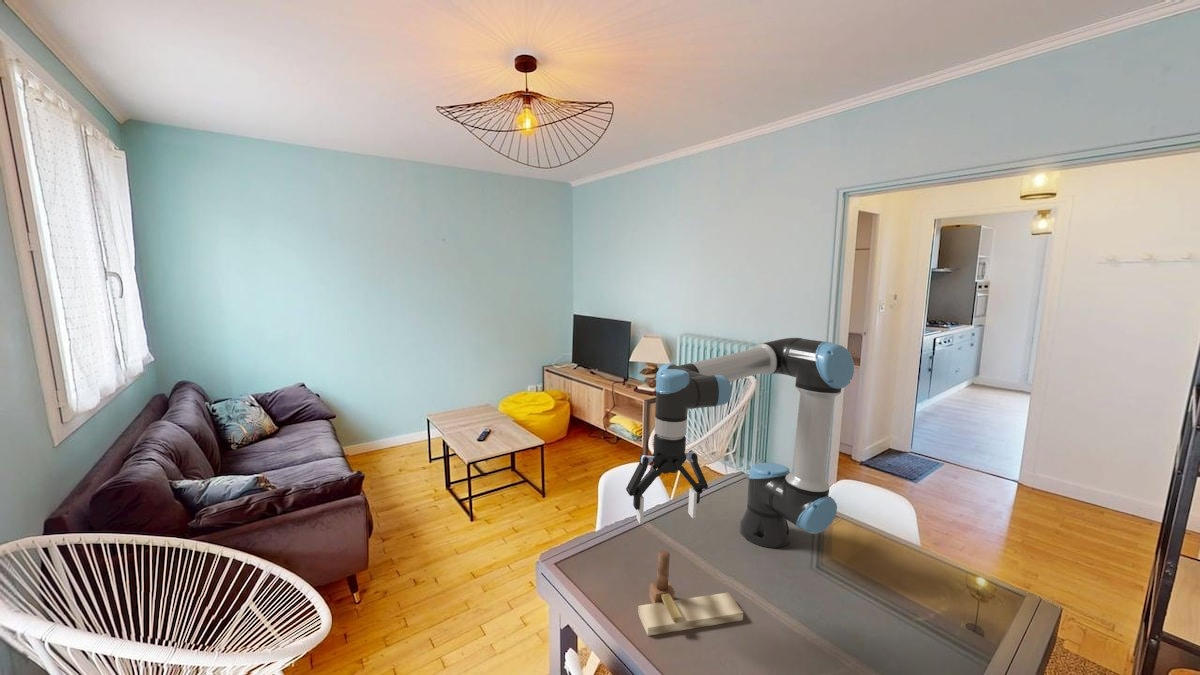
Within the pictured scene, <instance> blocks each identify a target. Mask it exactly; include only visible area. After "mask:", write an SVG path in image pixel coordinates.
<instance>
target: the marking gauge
mask: <svg viewBox="0 0 1200 675" xmlns="http://www.w3.org/2000/svg"><path fill="white" fill-rule="evenodd" d="M657 552H658V553H657V570H656V571H657V573H656V581H655V582H650V583H649V595H648V596H649V597H648V598H649V600H650V602H651V604H653V603H660V602H664V604H665V606H666V608H667V610H668V612H669V614H670V616H671V618H672V620H673V622H679V621H682V616H681V614H680V612H679V610H678V608H677V607H676V605H675V603H674V601H673V600H675V595H676V594H675V593H676V591H675V590H674V588H673V585H672V584H671V583H670V581H669V575H670V573H669V572H670V552H669V551H668V550H664V549H663V550H659V551H657Z"/></svg>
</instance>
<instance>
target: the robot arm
mask: <svg viewBox="0 0 1200 675" xmlns="http://www.w3.org/2000/svg"><path fill="white" fill-rule="evenodd" d="M657 370H658V371H656V377H655V378H656V382H655V383H656V384H655V385H656V386H655V409H654V410H655V413H654V435H653V453H652V455H646V454H645V453H642V454H640V456H639V463H638V464H637V467H636V468H635V471H634V473H633V474H632V476H631V477H630V480H629V482H628V485H627V486H626V488H625V490H626V492H627V494H628V495H629V497H633V499H632V500H633V503H632V505H633V507H634V510H636V518H635V519H636V520H637V521H638V523H639V525H643V524H644V509H645V508H644V506H645V505H644V504H645V498H644V496H643V494H644V493H645V492H646V491H647V489H648V488H649V487H651V485H652V484H653V482H654V481H655V480H656V479H657V478H658V477H659V476H661V475H662V474H670V473H671V474H675V473H677V472H678V471H679V472H680V473H681V475H682V476H683V478H685V480H686V481H687V482H688V483H689V484H690V486H691V487H689V490H688V507H687V508H688V509H687V513H688V514H689V516H690V517H691V518H692V519H696V518H697V514H696V513H697V504H700V500H701V499H700V498H701V494H703V490H707V489H708V488H709V485H708V482H707V480H706V478H705V476H704V473H703V471H702V468H701V467H700V465H699V461H698V460H699V459H698V454H697V453H696V452H694V451H693V450H689V451H688V452H686V443H687V437H686V436H687V425H688V422H687V421H688V412H689V410H693V409H702V408H711V407H712V408H713V407H714V408H716V407H718V406H723V405H726V404H727V403H728V402H730V400H731V398H732V390H733V389H732V385H731V383H730V382H731V381H736V380H740V379H743V378H748V377H751V376H755V375H759V374H761V375H763V376H769V375H774V374H775V375H776V374H778V375H779V374H780V375H785V376H788V377H789V376H790V377H793V378H795V383H794V384H795V385H794V386H795V388H796V389H797V391H798V392H799V393H800V394H799V402H798V403H799V404H798V413H797V418H796V419H797V420H796V430H795V438H794V439H795V440H794V448H793V456H792V466H791V472H790V468H789V467H787V466H786V465H784V464H780V463H775V462H759V463H755V464H753V465H752V466H751V467H750V471H749V476H748V487H747V488H748V489H747V490H748V491H747V505H746V510H745V512H744V513H743V515H742V516H743V517H742V518H741V520H740V522H739V523H740V524H739V532H740V534H741V536H742V537H743V538H745V539H746V540H747V541H749V542H751V543H753V544H755V545H757V546H760V547H765V548H769V549H770V548H771V549H774V548H775V549H776V548H783V547H786V546H787V545H788V544H789V543H790V539H791V532H790V528H789V523H788V522H790V523H792V524H793V525H795V526H796V527H797V528H798V529H800V530H804V531H805V532H806V533H809V534H815V535H816V534H820V533H821V532H824V531H825V530H826V529H828V528H829V526H831V524H832V522H833V521H834V520H835V517H836V515H837V511H838V505H837V502H836V500H835V499H834V498H833V497H832V496H829V494H830V484H829V482H827V481H826V479H825V475H826V468H827V462H828V461H827V457H828V452H829V444H830V442H829V441H830V435H831V434H830V433H831V426H832V418H833V417H832V416H833V409H834V401H835V400H834V399H835V397H837V396H838V395H840V394H841V393H842V389H843V388H845V387H847V386H848V385H849V384H850V383H851V380H852V379H853V378H854V377H853V376H854V373H855V362H854V359H853V355H852V354H851V353H850V352H849V350H848V349H847V348H846V347H845V346H843V345H841V344H837V343H834V342H831V341H823V340H816V339H809V338H802V337H787V338H781V339H776V340H771V341H767V342H762V343H758V344H757V345H755V346H754V348H752V349H751V348H750V349H747V350H743V351H742V350H741V351H738V352H734V353H729V354H725V355H721V356H717V357H716V356H715V357H712V358H708V359H703V360H699V361H695V362H690V363H685V364H679V365H676V364H673V363H666V364H663V365H662V366H660V367H659V368H658V369H657ZM686 460H687V461H688V462H689V464H690V466H691V467H692V470H693V472H694V474H695V477H696V479H697V481H698V482H696V480H694V478H693V477H692V476H691V474H690V473H689V472H688V471H687V470H686V469H685V467H684V466H683V464H685V462H686ZM651 463H653V464H652V466H651V467H650V468H649V470H648V472H647V473H646V471H647V469H648V466H650V465H651ZM645 473H646V474H645Z"/></svg>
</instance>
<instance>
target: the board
mask: <svg viewBox="0 0 1200 675" xmlns="http://www.w3.org/2000/svg"><path fill="white" fill-rule="evenodd" d="M673 601H674V603H675V605H676V607H677V608H678V610H679V612H680V614H681V616H682V621H679V622H673V620H672V618H671V616H670V614H669V612H668V610H667V608H666V606H665V604H664V602H660V603H653V604H652V603H647V604H641V605H638V607H637V614H638V616H639V619H640V622H641V624H642V626H643V629H644V631H645V633H646V635H647V636H648V637H649V636H654V635H662V634H667V633H673V632H681V631H686V630H691V629H697V628H703V627H710V626H715V625H721V624H727V623H734V622H741V621H743V620H744V611H743V610H742V609H741V607H740V606H739V605H738V604H737V602H736V601H735V599H734V598H733V597H732V596H731V593H730V592H722V593H716V594H714V593H713V594H710V595H702V596H695V597H688V598H682V599H681V598H680V599H674V600H673Z"/></svg>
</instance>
